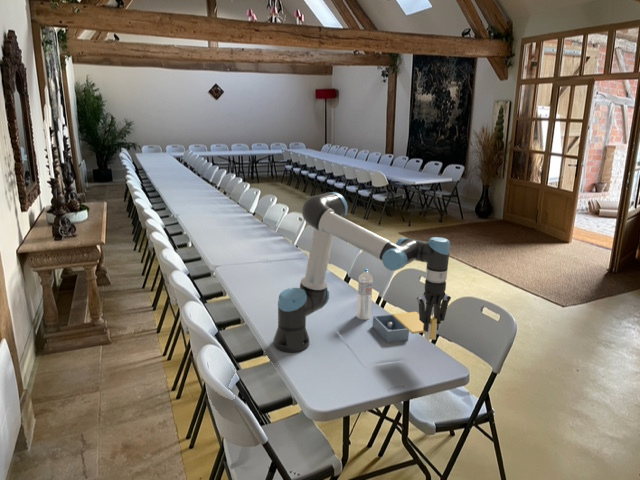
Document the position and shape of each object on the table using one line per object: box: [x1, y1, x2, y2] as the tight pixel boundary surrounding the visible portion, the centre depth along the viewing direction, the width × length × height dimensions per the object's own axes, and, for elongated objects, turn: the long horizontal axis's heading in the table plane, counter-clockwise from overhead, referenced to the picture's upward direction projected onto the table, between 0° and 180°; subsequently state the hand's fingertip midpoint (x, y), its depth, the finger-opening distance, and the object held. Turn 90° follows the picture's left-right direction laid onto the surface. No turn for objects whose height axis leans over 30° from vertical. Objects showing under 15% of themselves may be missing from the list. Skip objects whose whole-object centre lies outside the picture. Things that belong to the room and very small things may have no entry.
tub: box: [372, 313, 410, 344], centre depth 212 cm, size 10×16×6 cm, turn 17°
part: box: [387, 321, 393, 330], centre depth 216 cm, size 3×3×3 cm
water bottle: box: [356, 268, 374, 321], centre depth 225 cm, size 7×7×25 cm
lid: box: [392, 311, 437, 340], centre depth 186 cm, size 11×23×8 cm, turn 17°
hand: (430, 338), depth 179 cm, fingers closed on lid, 2 cm apart
